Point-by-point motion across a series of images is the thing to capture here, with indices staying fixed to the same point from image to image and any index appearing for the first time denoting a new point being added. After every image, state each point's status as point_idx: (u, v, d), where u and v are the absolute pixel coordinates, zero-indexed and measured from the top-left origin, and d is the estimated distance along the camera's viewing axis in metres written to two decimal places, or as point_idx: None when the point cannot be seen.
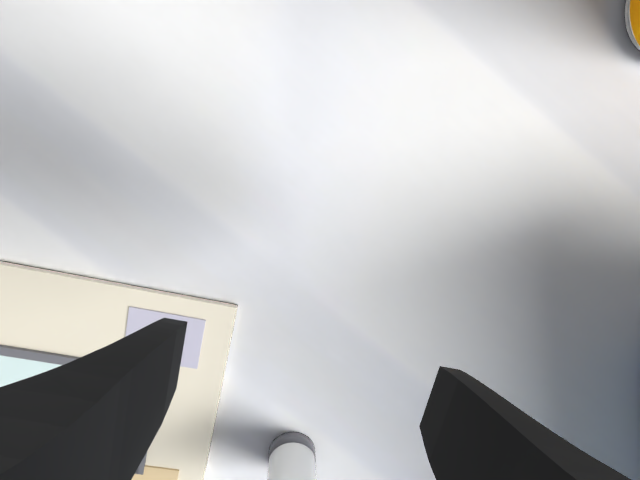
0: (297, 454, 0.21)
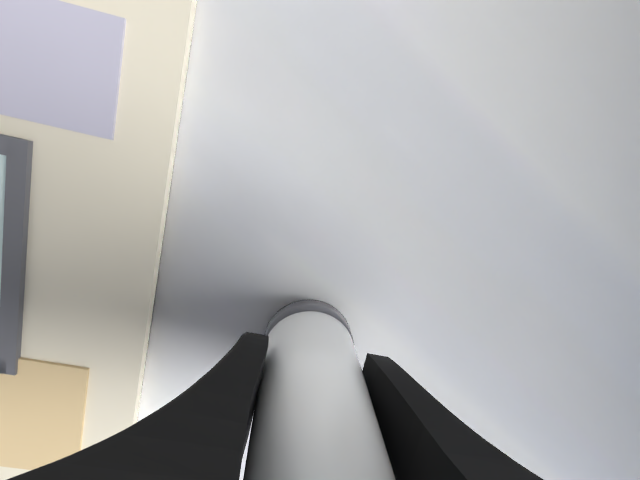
0: (322, 325, 0.10)
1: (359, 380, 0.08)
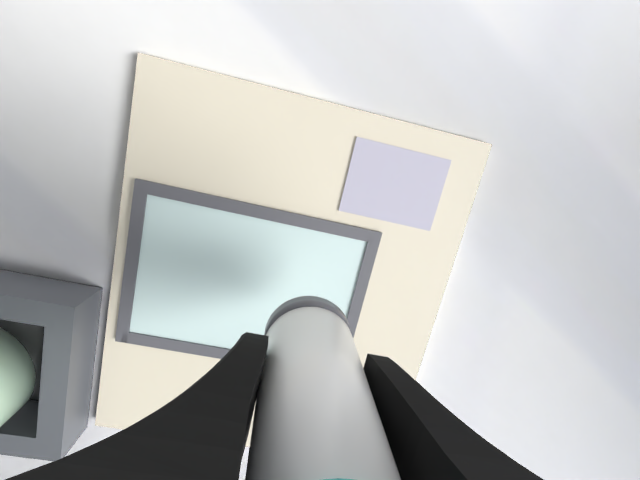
0: (321, 320, 0.10)
1: (359, 373, 0.08)
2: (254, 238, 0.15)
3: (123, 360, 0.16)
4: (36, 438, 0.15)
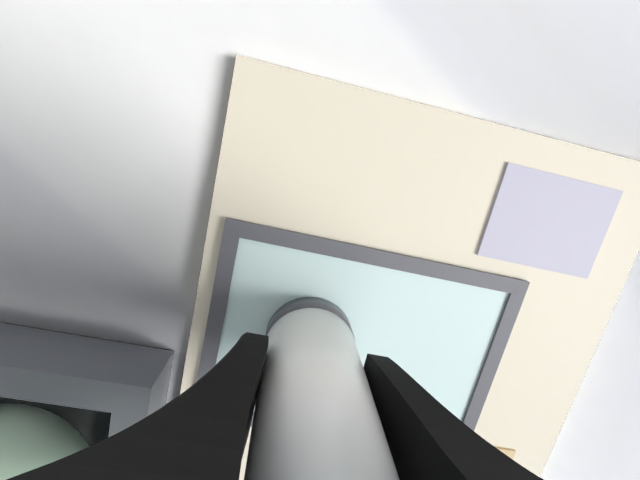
0: (322, 321, 0.10)
1: (360, 375, 0.08)
2: (369, 290, 0.12)
3: None
4: None
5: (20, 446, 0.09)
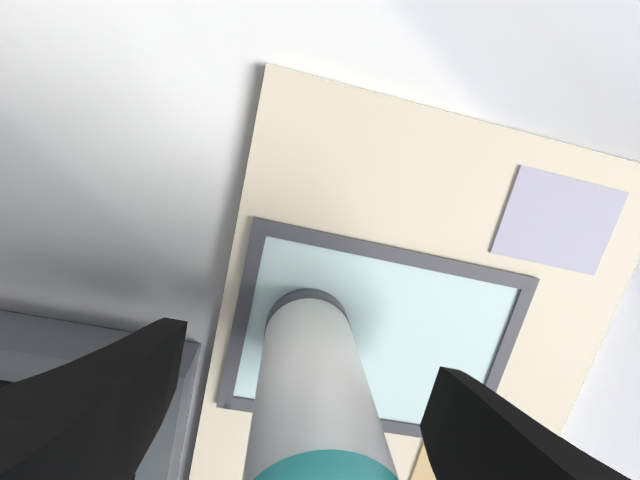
0: (320, 311, 0.11)
1: (355, 359, 0.09)
2: (388, 286, 0.12)
3: (222, 427, 0.13)
4: None
5: None
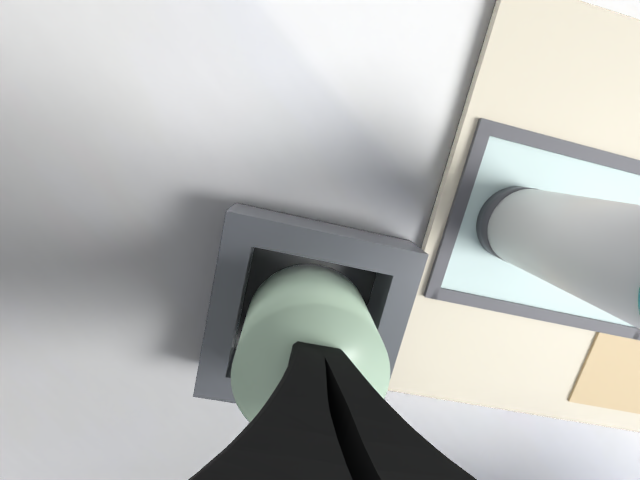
0: None
1: None
2: (583, 187, 0.14)
3: (424, 319, 0.15)
4: None
5: (346, 285, 0.12)
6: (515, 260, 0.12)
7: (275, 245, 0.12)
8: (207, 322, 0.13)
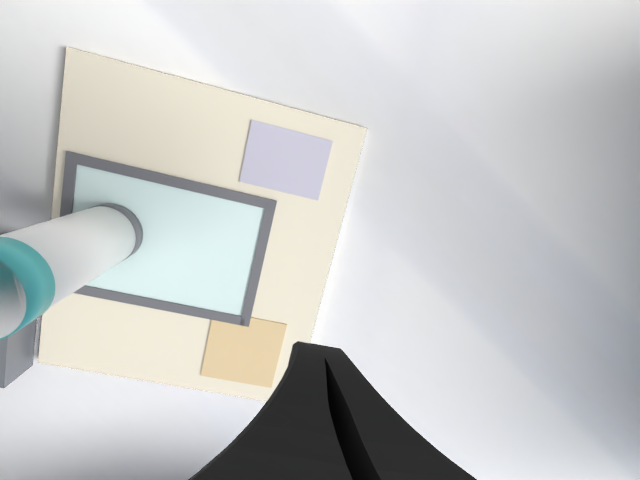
0: (98, 210, 0.16)
1: (92, 229, 0.14)
2: (169, 204, 0.18)
3: (61, 306, 0.19)
4: None
5: None
6: None
7: None
8: None
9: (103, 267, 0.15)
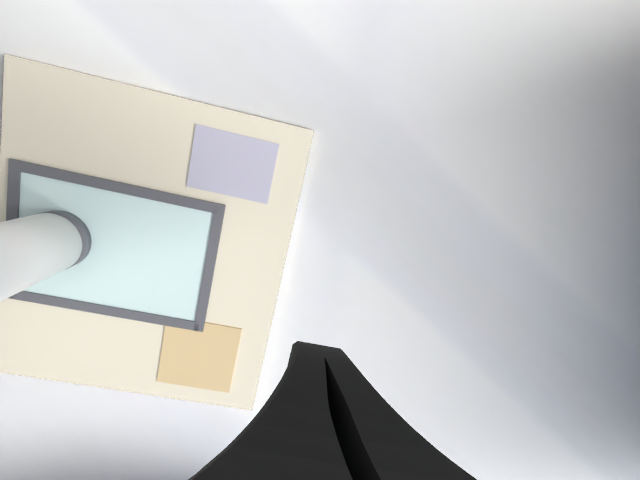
0: (40, 216, 0.16)
1: (29, 233, 0.14)
2: (117, 210, 0.18)
3: (12, 314, 0.19)
4: None
5: None
6: None
7: None
8: None
9: (42, 272, 0.15)
